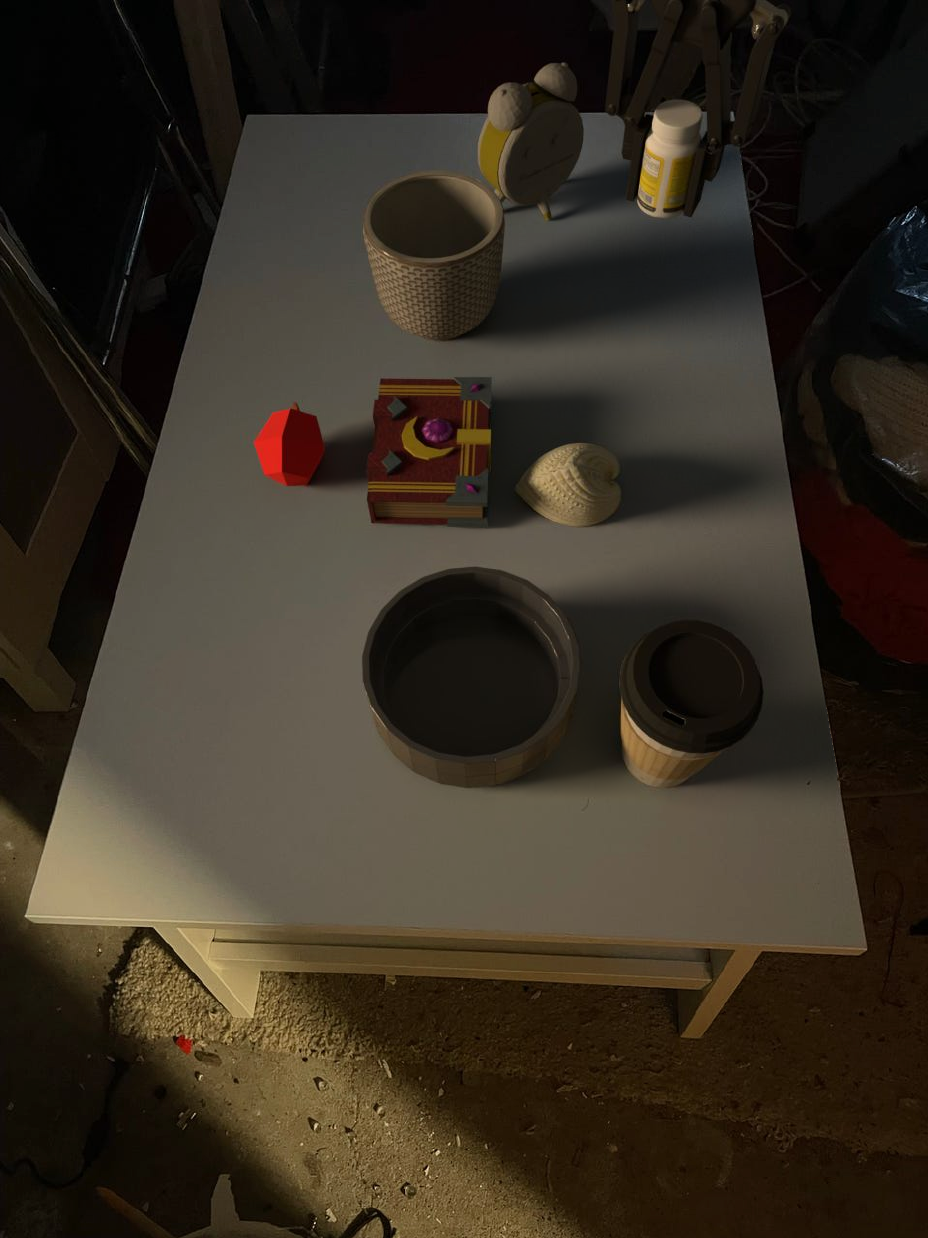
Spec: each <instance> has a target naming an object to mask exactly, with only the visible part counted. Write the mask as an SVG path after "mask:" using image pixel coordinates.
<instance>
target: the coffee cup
mask: <svg viewBox="0 0 928 1238" xmlns="http://www.w3.org/2000/svg"><path fill="white" fill-rule="evenodd" d="M618 677H619V678H618V681H619V693H620V697H621V705H620V706H621V707H620V740H621V756H622V759H623V763H624V764H625V766H626V769H627V770H628V771H629V772H630V774H631V775H632V776H633V777H634V778H635V779H636V780H638V781H640V782H641V783H643V784H645V785H647V786H650V787H654V788H660V789H661V788H662V789H667V788H673V787H676V786H678V785H681V784H682V783H684V782H685V781H687V780H688V779H689V778H691V776H693V775H695V774H697V773H698V772H700V771H701V770H702V769H704V767H706V765H708V764H709V763H710V762H711V761H713V760H714V759H715V758H716V757H717V756H719V755H720V754H721V753H722V752H723V751H725V750H726V749H728V748H730V747H732V746H734V745H735V744H738V743H739V742H740V741H742V740H743V739H744V738H745V737H747V735H748V734H749V733H750V732H751V731H752V730H753V728H754V726H755V725H756V723H757V721H758V720H759V717H760V714H761V711H762V707H763V703H764V685H763V677H762V675H761V672H760V669H759V666H758V664H757V661H756V660H755V658H754V656H753V654H752V653H751V651H750V649H749V648H748V647H747V646H746V645H745V643H744V642H743V641H742V640H741V639H740V638H738V637H737V636H736V635H735V634H734V633H733V632H732V631H729V630H727V629H726V628H724V627H722V626H721V625H718V624H715V623H713V622H709V621H706V620H701V619H681V620H675V621H674V620H673V621H671V622H667V623H664V624H662V625H658V626H656V627H654V628H652V629H651V630H649V631H647V632H645V633H643V634H642V635H641V637H639V638H638V639H637V640H636V641H635V642H634V643H633V644H632V646H631V647H630V648H629V650H628V651H627V653H626V654H625V656H624V659H623V661H622V663H621V665H620V671H619V676H618Z"/></svg>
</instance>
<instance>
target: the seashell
mask: <svg viewBox="0 0 928 1238" xmlns="http://www.w3.org/2000/svg"><path fill="white" fill-rule="evenodd" d="M620 470H621V467H620V463H619V461H618V459H617V457H616V456H615V454H613V452H611V451H609V450H608V449H607V448H605V447H602V446H601V445H597V444H593V443H587V442H575V443H574V442H573V443H568V444H564V445H561V446H558V447H556V448H554V449H552V450H550V451H548V452H546V453H544V454H542V455H541V456H540V457H539V458H538V459H537V460H535V461H534V462H533V463H532V464H531V465H530V466H529V467H528V468H527V470H526V471H525V472H524V473H523V474H522V476H521V478H520V479H519V481H518V482H517V483H516V485H515V486H514V491H515V492H516V493H517V495H519V496H520V497H521V499H522V500H523V501H524V502H526V503H527V504H528V505H529V506H530V507H531V508H532V509H533V510H534V511H535V512H536V513H538V514H539V515H541V516H542V517H545V518H546V519H548V520H550V521H552V522H554V523H557V524H561V525H563V526H567V527H578V528H580V527H590V526H594V525H596V524H599V523H602V522H603V521H605V520H607V519H608V518H609V517H611V516H612V515H614V513H615V512H616V511H617V509H618V507H619V505H620V503H621V499H622V491H621V488H620V486H619V484H618V483H617V482H616V481H614V479H615V478H617V477H618V476H619V474H620Z"/></svg>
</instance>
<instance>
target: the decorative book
mask: <svg viewBox="0 0 928 1238" xmlns="http://www.w3.org/2000/svg"><path fill="white" fill-rule="evenodd" d="M377 397H378V398H377V399H374V400H373V410H372V420H373V426H374V433H373V441H372V449H371V450H372V451H371V452H370V453H369V452H368V454H367V461H366V471H365V473H366V477H367V482H368V486H367V492H366V493H367V494H366V503H367V508H368V513H369V516H370V517H369V518H370V522H371V524H388V525H390V524H395V525H397V524H398V525H440V526H441V525H442V526H443V525H444V526H445V525H446V526H447V528H473V529H475V528H476V529H488V520H489V519H488V518H489V515H488V514H489V473H491V470H492V469H491V467H492V429H491V427H492V426H491V425H492V407H493V405H492V404H493V403H492V402H493V401H492V376H453V379H452V378H385V377H384V378H380V380H379V389H378V396H377Z"/></svg>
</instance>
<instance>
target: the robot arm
mask: <svg viewBox="0 0 928 1238" xmlns="http://www.w3.org/2000/svg"><path fill="white" fill-rule="evenodd" d="M645 1H646V0H610V2H611V8H612V12H613V18H614V25H613V35H612V43H611V53H610V60H609V61H610V62H609V69H608V79H607V80H608V81H607V88H606V97H605V105H604V109H605V113H606V114H607V115H609V116H611V117H614V116H617V117H619V118H620V119H621V120H622V121H623V125H624V131H623V137H622V138H623V139H622V144H621V145H622V146H621V157H622V160H625V161H629V162H630V166H629V167H630V168H629V174H628V181H627V188H626V195H625V201H629V202H635V200H636V199H637V195H638V188H639V181H640V174H641V167H642V160H643V154H644V147H645V140H646V136H647V134H648V132H649V131H650V129H651V128H652V122H653V117H654V114H649V113H646V111H647V110H648V109H649V106H650V105H651V104H650V103H651V101H652V98H653V96H654V94H655V92H656V89H657V86H658V83H659V81H660V79H661V76H662V74H663V71H664V69H665V66H666V64H667V63H668V60H669V57H670V55H671V53H672V49H673V47H674V45H675V43H677V44H678V43H679V44H681V43H690V44H692V45H694V46H696V47H697V48H700V49H702V64H703V65H704V72H705V73H704V74H705V76H704V77H705V105H706V109H705V110H706V131H705V133H704V135H703V136H702V137H701V139H702V140H701V142H700V143H699V145H698V147H697V151H696V156H695V161H694V165H693V170H692V175H691V180H690V184H689V189H688V194H687V199H686V204H685V208H684V212H683V213H682V216H683V217H686V218H692V217H693V215H694V213H695V211H696V209H697V207H698V206H699V204H700V202H701V200H702V196H703V191H704V187H705V183H706V181H707V182H710V183H712V182H713V181H714V179H715V178H716V177H717V175H718V173H719V171H720V169H721V165H722V161H723V159H724V158H723V157H724V153H725V149H726V146H731V145H732V146H733V147H734V148H740V147H743V145H744V144H745V142H746V141H747V139H748V137H749V135H750V133H751V132H752V129H753V127H754V125H755V122H756V118H757V113H758V109H759V106H760V102H761V98H762V95H763V90H764V86H765V83H766V79H767V76H768V72H769V71H768V70H769V67H770V63H771V59H772V55H773V52H774V48H775V45H776V44H775V43H776V42H777V40H778V39H779V37H780V35H781V34H782V32H783V30H784V27H786V24H787V23H788V21H789V19H790V17H791V16H792V15H791V14H792V10H791V7H790V6H789V5H788V4H787V3H780V4H779V5H777V6H776V5H774V4H772V3H771V2H769V1H768V0H649V1H650V4H651V7H652V9H653V11H654V13H655V16H656V18H657V20H658V22H659V27H658V29H657V32H656V34H655V37H654V40H653V41H652V45H651V50H650V52H649V55H648V56H647V57H648V58H647V60H646V63H645V65H644V67H643V70H642V73H641V75H640V78H639V80H638V83H637V85H636V88H635V91H634V93H633V95H631V94H630V89H631V81H632V74H633V67H634V60H635V59H634V58H635V52H636V51H635V50H636V45H637V37H638V30H639V21H640V15H641V7H642V6H643V4H644V3H645ZM749 16H750V17H751V19H752V26H751V31H750V32H751V36H752V39H753V40H754V41H755V40H756V41H755V42H754V45H753V47H752V49H751V51H750V55H749V58H748V63H747V67H746V71H745V75H744V80H743V84H742V88H741V91H740V96H739V101H738V105H737V109H736V112H735V113H736V114H735V116H734V117H735V118H734V120H732V119H731V118H732V113H731V112H732V109H731V108H732V107H731V106H732V104H731V103H732V100H731V99H732V98H731V97H732V96H731V47H732V46H731V45H732V42H733V31H734V30H735V29H736V28H738V27H739V25H741V24H742V22H743V21H744V20H746V19H747V18H748V17H749Z"/></svg>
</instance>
